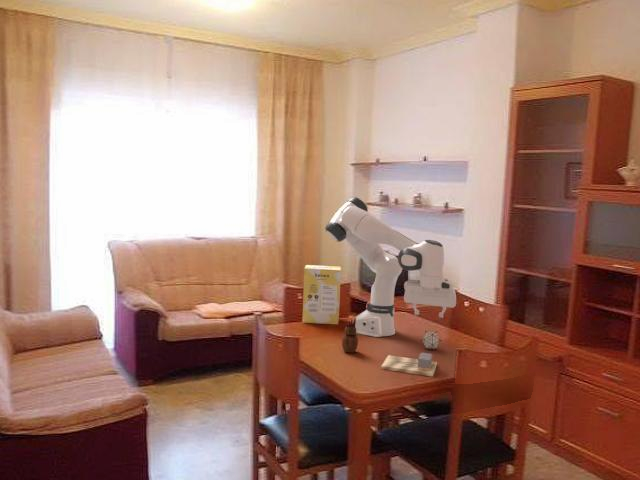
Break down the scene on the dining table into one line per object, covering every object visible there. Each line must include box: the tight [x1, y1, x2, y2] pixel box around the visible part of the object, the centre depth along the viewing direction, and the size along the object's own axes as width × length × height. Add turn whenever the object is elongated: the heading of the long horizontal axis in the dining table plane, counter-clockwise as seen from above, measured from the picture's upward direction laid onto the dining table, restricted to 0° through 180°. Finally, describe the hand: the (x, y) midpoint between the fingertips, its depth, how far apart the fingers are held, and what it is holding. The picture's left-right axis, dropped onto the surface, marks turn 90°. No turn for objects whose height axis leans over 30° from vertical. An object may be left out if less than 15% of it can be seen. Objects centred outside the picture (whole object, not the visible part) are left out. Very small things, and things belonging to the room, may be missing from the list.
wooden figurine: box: [341, 317, 359, 354], centre depth 228 cm, size 7×6×15 cm
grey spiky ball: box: [420, 330, 443, 351], centre depth 237 cm, size 9×8×10 cm
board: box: [380, 354, 438, 378], centre depth 213 cm, size 20×14×1 cm
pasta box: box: [302, 264, 342, 325], centre depth 275 cm, size 18×10×28 cm, turn 86°
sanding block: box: [418, 352, 433, 370], centre depth 211 cm, size 4×8×4 cm, turn 162°
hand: (428, 316), depth 212 cm, fingers open, 8 cm apart
